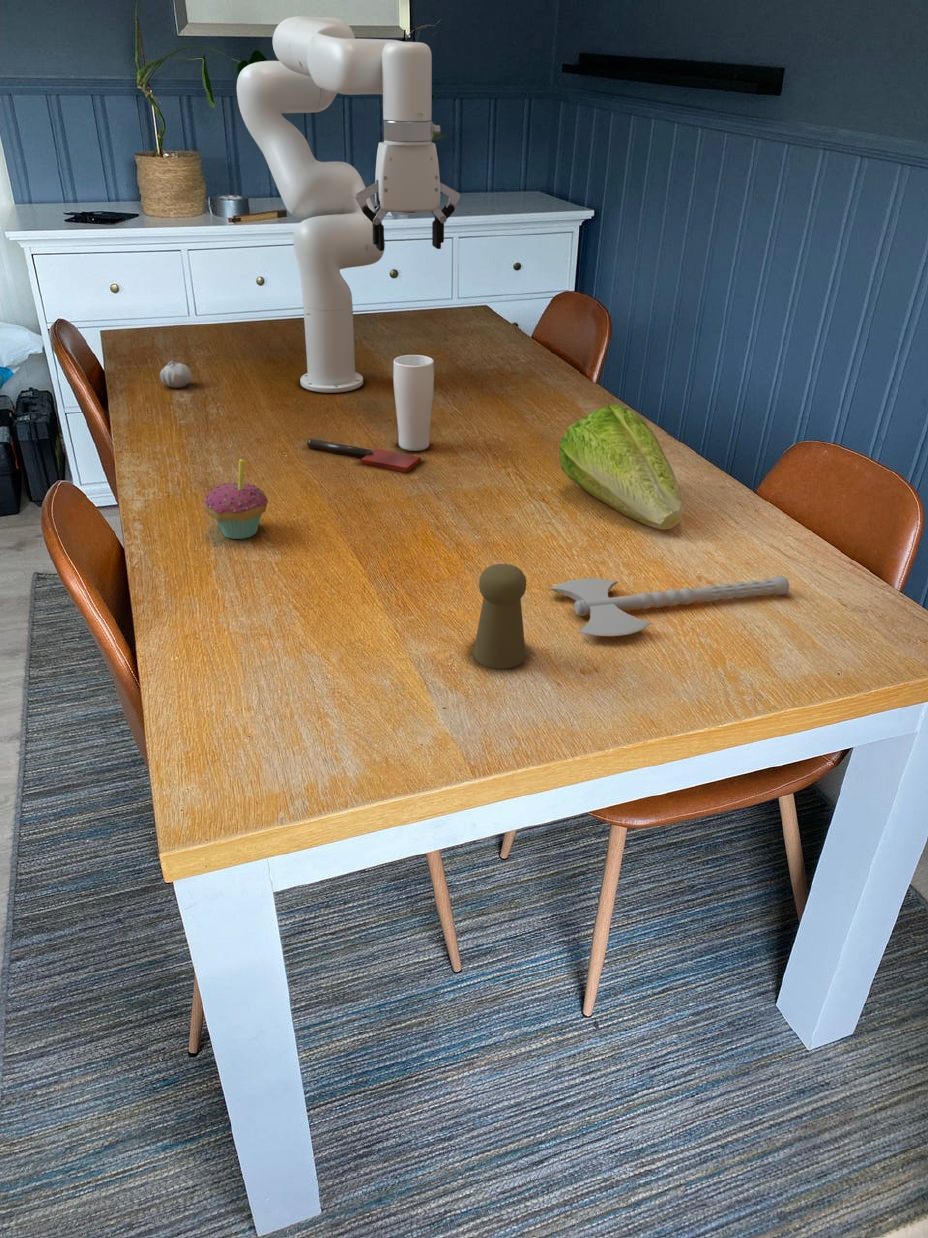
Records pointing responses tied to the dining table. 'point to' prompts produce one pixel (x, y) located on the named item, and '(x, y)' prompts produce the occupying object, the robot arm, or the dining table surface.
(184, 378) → the garlic
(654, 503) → the lettuce
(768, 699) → the dining table surface
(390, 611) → the dining table surface
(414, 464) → the spatula
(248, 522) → the cupcake
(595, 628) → the axe
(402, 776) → the dining table surface
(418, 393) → the drinking glass
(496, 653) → the chess pawn
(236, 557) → the dining table surface
